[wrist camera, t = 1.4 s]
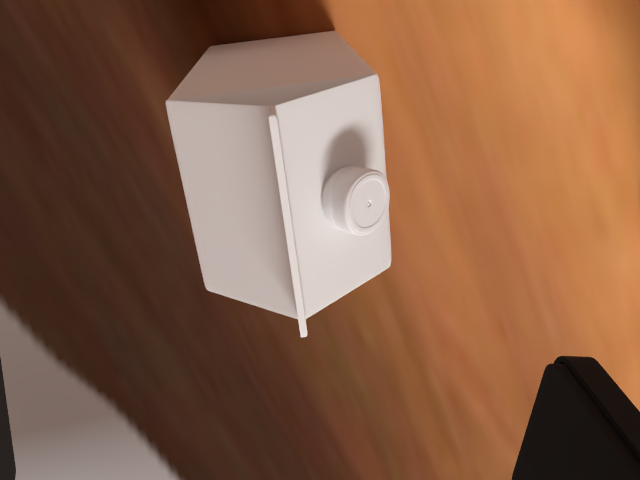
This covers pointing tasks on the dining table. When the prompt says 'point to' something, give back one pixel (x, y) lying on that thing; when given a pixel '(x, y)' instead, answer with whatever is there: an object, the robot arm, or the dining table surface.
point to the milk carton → (284, 171)
